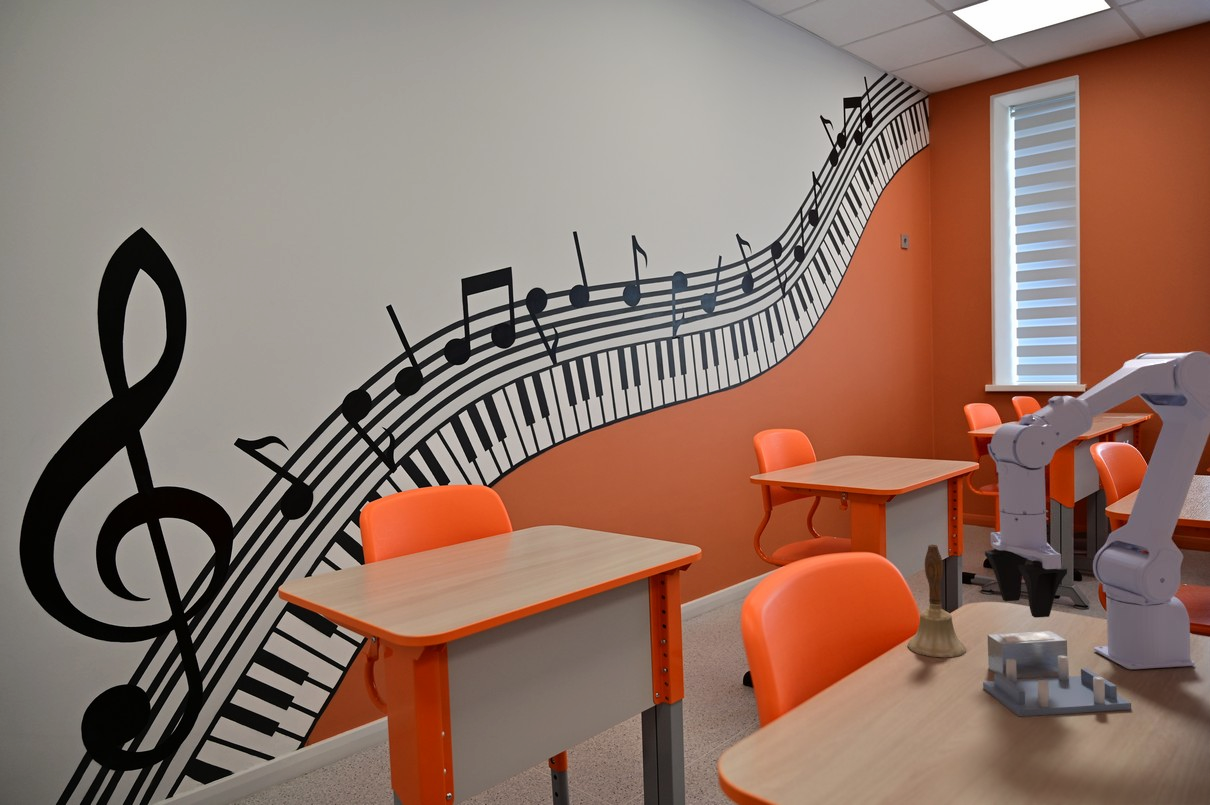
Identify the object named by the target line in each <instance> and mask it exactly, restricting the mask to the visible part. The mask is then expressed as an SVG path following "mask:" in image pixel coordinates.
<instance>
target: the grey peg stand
mask: <svg viewBox="0 0 1210 805" xmlns="http://www.w3.org/2000/svg"><path fill="white" fill-rule="evenodd" d="M1069 670H1070V669H1069V657H1068V655H1067V656H1062V655H1060V656H1058V676H1054V677H1038V678H1021V679H1018V678H1017V672H1016V660H1015V659H1006V674H1007V678H1005V677H1004V676H1003V675H1001V674H995V673H993V675H994V676H993V677H994V678H993V679H994V680H993V681H991V680H990V681H982V687H983V689H984V690H986V691H987V692H988V693H989V694H990V695H992V696H993V697H994V698H995V699H997V700H998V701H999V702H1000V703H1002V704H1003V705H1004V706H1006V707H1007V709H1009V710H1011V711H1012V712H1013V713H1015V715H1017V716H1018V717H1030V716H1032V717H1034V716H1048V715H1063V714H1079V713H1080V714H1081V713H1095V712H1111V711H1126V710H1127V711H1129V710H1132V702H1130V701H1128V700H1127V699H1125V698H1124V697H1122V696H1121V695H1119V694H1118V692H1117V685H1116V684H1114V683H1112V682H1111V681H1109V680H1108V679H1106V678H1104V677H1102V676H1100V675H1099V674H1098V673H1096V672H1094V671H1092V670H1091V669H1089V668H1087V667H1085V668H1080V675H1073V676H1070V674H1069V672H1070V671H1069Z"/></svg>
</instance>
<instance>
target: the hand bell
mask: <svg viewBox="0 0 1210 805" xmlns="http://www.w3.org/2000/svg"><path fill="white" fill-rule="evenodd" d="M927 547H928V548H927V551H926V554H925V559H924V573H925V577H926V579H927V583H928V588H929V589H928V590H929V593H928V594H929V607H928V609H924V610H922V611H921V612H920V614H919V624H918V628H917V630H916V633H915V634H914V636H913V637H912V638H911V639H909V640H908V643H907V647H909V648H908V649H909V650H910V649H911V650H910V651H912V652H913V651H914V653H915V652H916V653H915V654H917V655H918V654H919V655H921V654H923V655H922V656H924V655H926V656H925V657H929V656H930V657H931V658H937V657H942V659H944V658H945V659H947V658H946V657H952V658H956V657H960V656H963V655H964V654H965V653H966V652H967V648H966V646H965V644H964V643H963V642H962V641H961V640H960V639H959V638H958V636H957V634H956V631H955V628H954V623H953V617H952V614H951V613H950V612H948V611H946V610H945V609H943V607H942V594H941V582H942V579H943V575H944V574H943V573H944V565H943V564H944V563H943V559H942V555H941V553H940V551H939V547H938V545H937V544H928V545H927ZM943 657H944V658H943Z"/></svg>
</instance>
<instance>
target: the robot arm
mask: <svg viewBox="0 0 1210 805" xmlns="http://www.w3.org/2000/svg"><path fill="white" fill-rule="evenodd" d="M1137 396H1138V397H1140V398H1141V400H1143V401H1144V402H1145V403H1146V405H1148V407H1150V408H1151V409H1152V410H1153V411H1154V413H1156V414H1158V416H1159V418H1160V419H1161V421H1162V426H1161V429H1160V432H1159V435H1158V437H1157V440H1156V443H1155V445H1154V448H1153V452H1152V455H1151V457H1150V460H1149V462H1148V465H1147V468H1146V471H1145V472H1144V473H1145V474H1144V476H1143V478H1142V481H1141V484H1140V486H1139V490H1138V493H1137V495H1136V498H1135V500H1134V504H1133V507H1132V509H1131V512H1130V515H1129V516H1128V520H1127V523H1126V524H1125V525H1123V526H1121V527H1119V528H1117V529H1116V530H1114V531H1111V533H1109V534H1108V536H1107V539H1106V542H1105V543H1104V545H1103V546H1102V547H1100V549H1099V550H1097V552H1096V554H1095V555H1094V558H1093V563H1092V572H1093V574H1094V577H1095V579H1096V580H1097V581H1098V582H1099V583H1100V584H1102V592H1103V593H1105V594H1106V595H1105V596H1106V597H1105V598H1106V600H1105V601H1106V630H1107V631H1106V634H1107V636H1106V638H1107V645H1104V646H1094V647H1093V651H1094V652H1096V653H1097V654H1100V655H1101V656H1104V657H1105V658H1106V659H1109V660H1111V661H1113V662H1115V664H1119V665H1120V666H1122V667H1123V668H1126V669H1127V670H1143V669H1144V670H1145V669H1156V668H1157V669H1158V668H1159V669H1160V668H1161V669H1162V668H1174V667H1176V668H1177V667H1189V666H1190V667H1191V666H1195V663H1196V662H1195V661H1194V660H1192V659H1191V630H1190V629H1191V628H1190V626H1191V624H1190V622H1191V621H1190V616H1189V612H1188V610H1187V608H1186V606H1185V604H1184V603H1183V602H1182V601H1181V600H1180V599H1179V598H1177V597H1176V594H1177V592H1178V590H1179V588H1180V585H1181V579H1182V578H1181V576H1182V575H1181V567H1182V566H1181V565H1182V563H1183V560H1184V555H1183V553H1182V552H1181V550H1180V548H1178V547H1177V544H1175V542H1174V540H1173V539H1172V537H1173V535H1174V532H1175V528H1176V526H1177V523H1178V520H1179V518H1180V515H1181V512H1182V509H1183V507H1184V504H1185V502H1186V499H1187V497H1188V493H1189V491H1190V488H1191V485H1192V482H1193V480H1194V477H1195V474H1196V471H1197V469H1198V465H1199V462H1200V460H1201V457H1202V455H1203V452H1204V449H1205V448H1206V447H1205V446H1206V444H1207V442H1208V440H1209V437H1210V436H1209V435H1210V354H1209V353H1207V352H1205V351H1202V350H1201V351H1199V350H1197V351H1196V350H1195V351H1190V352H1169V353H1154V352H1145V353H1141V354H1139V355H1137V356H1136V357H1135V358H1132V359H1130V360H1127V361H1125V362H1124V363H1123V365H1122V367H1121V368H1120V369H1118V370H1116V371H1115V372H1114V373H1112V374H1110V375H1109V376H1107V377H1106V378H1104V379H1103V380H1101V381H1100V382H1099V383H1097V384H1095V385H1094V386H1092V387H1091V388H1090V389H1088V390H1087V391H1085V392H1083V393H1082V394H1081V395H1079V396H1077V397H1073V396H1072V395H1071V396H1070V395H1063V396H1061V395H1059V396H1058V395H1057V396H1053V397H1051V398H1048V400H1047V402H1048V404H1047V405H1046V406H1044V407H1042V408H1040V409H1039V410H1037V411H1035V412H1033V413H1032V414H1031V413H1030V414H1029V413H1026V414H1024V415H1022V416H1021V417H1020V421H1019V422H1018V423H1017V424H1013V423H1008V424H1004V425H1002V426H1000V427H999V428H997V429H996V431H995V432H994V434H993V436H992V437H991V439H990V440H991V442H990V443H988V444H987V450H988V453H989V456H990V457H991V459H992V460H993V461H994V462H995V466H996V473H997V474H998V475H997V478H998V500H999V502H998V503H999V505H998V506H999V528H1000V529H999V531H997V532H990V546H991V547H992V548H993V549H990V550H988V549H987V550H985V551H984V556H985V557H986V558H987V560H988V561H989V564H990V566H991V568H992V570H993V572H994V575H995V578H996V582H997V584H998V588H999V592H1000V595H1001V598H1002V600H1003V601H1004V602H1014V601H1016V602H1017V601H1020V600H1021V595H1022V582H1023V581H1024V584H1025V587H1026V592H1027V596H1028V597H1027V599H1028V606H1029V609H1030V610H1029V611H1030V613H1031V616H1032V617H1033V618H1049V617H1051V611H1052V610H1053V609H1052V608H1053V605H1054V601H1055V597H1056V594H1057V591H1058V589H1059V587H1060V584H1061V583H1062V582H1063V580H1064V578H1065V576H1066V575H1067V574H1068V568H1067V567H1066V566H1063V565H1062V554H1061V553H1059V552H1057V551H1056V550H1055V549H1054V548H1053V547H1052V546H1051V545H1050V544H1049V543H1048V540H1047V539H1048V537H1047V536H1048V535H1047V534H1048V533H1047V510H1046V509H1047V507H1046V506H1047V505H1046V504H1047V502H1046V501H1047V500H1046V478H1045V477H1046V475H1045V474H1046V471H1045V470H1046V469H1045V468H1046V467H1045V466H1048V465H1049V464H1050V463H1051V461H1052V460H1053V458H1054V455H1055V452H1056V451H1057V450H1059V449H1060V448H1062V447H1063V446H1065V445H1067V444H1068V443H1071V442H1072V441H1074V440H1076V439H1077V438H1079V437H1081V436H1082V435H1084V434H1086V433H1088V432H1089V431H1090V430H1091V429H1092V427H1093V421H1094V418H1095V417H1097V416H1100V415H1101V414H1103V413H1106V412H1107V411H1110V410H1112V409H1113V408H1115V407H1118V406H1119V405H1121V404H1123V403H1126V402H1127V401H1129V400H1131V399H1132V398H1135V397H1137ZM1144 551H1145V552H1144ZM1146 552H1147V553H1146ZM1027 560H1030V561H1032V564H1031V563H1030V564H1029V563H1028V564H1026V562H1027ZM1022 579H1023V580H1022Z"/></svg>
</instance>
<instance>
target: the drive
mask: <svg viewBox="0 0 1210 805" xmlns="http://www.w3.org/2000/svg"><path fill="white" fill-rule="evenodd" d="M1060 655H1062V656H1067V657H1068V641H1067V639H1065V638H1063V637H1061V636H1060V635H1058V634H1056V633H1055V632H1052V631H1051V630H1045V631H1044V630H1042V631H1029V632H1026V631H1025V632H1012V633H1011V632H1010V633H993V634H987V658H988V660H987V661H988V669H989V670H990V671H991V672H992V673H993V674H1001V675H1003V676H1004V677H1005V678H1007V674H1006V659H1015V660H1016V672H1017V679H1032V678H1049V677H1058V656H1060Z"/></svg>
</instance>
